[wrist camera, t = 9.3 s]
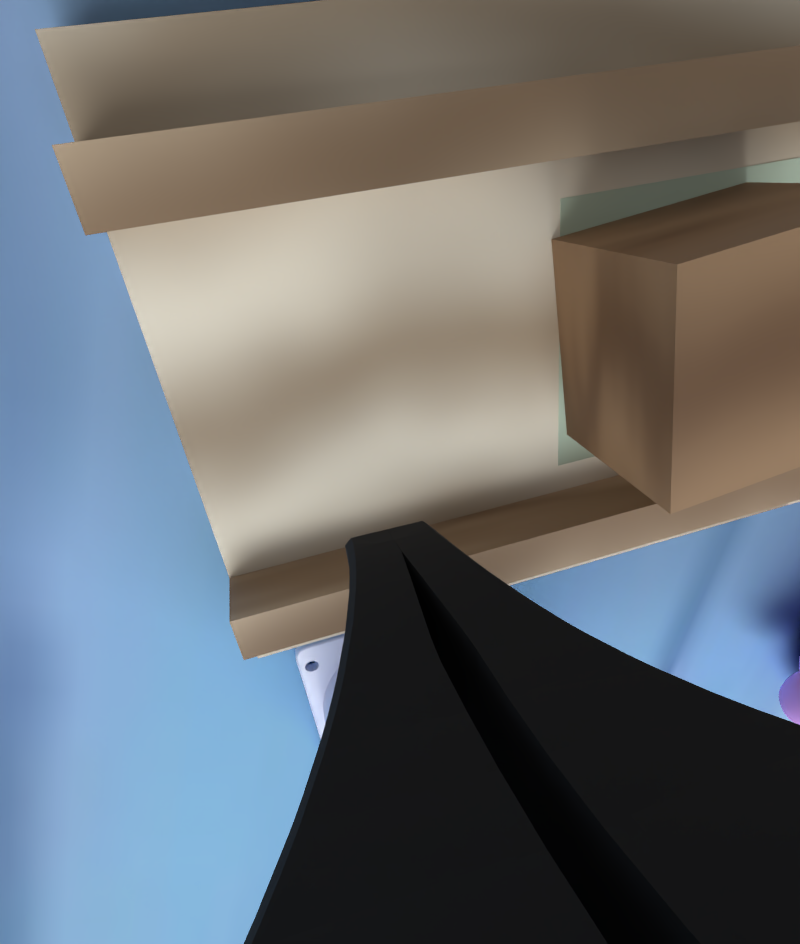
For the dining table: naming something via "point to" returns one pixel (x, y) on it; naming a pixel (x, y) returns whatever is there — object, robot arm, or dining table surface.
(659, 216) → the walnut block
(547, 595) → the dining table surface
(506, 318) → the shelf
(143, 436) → the dining table surface
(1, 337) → the dining table surface
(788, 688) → the purple sugar bowl
